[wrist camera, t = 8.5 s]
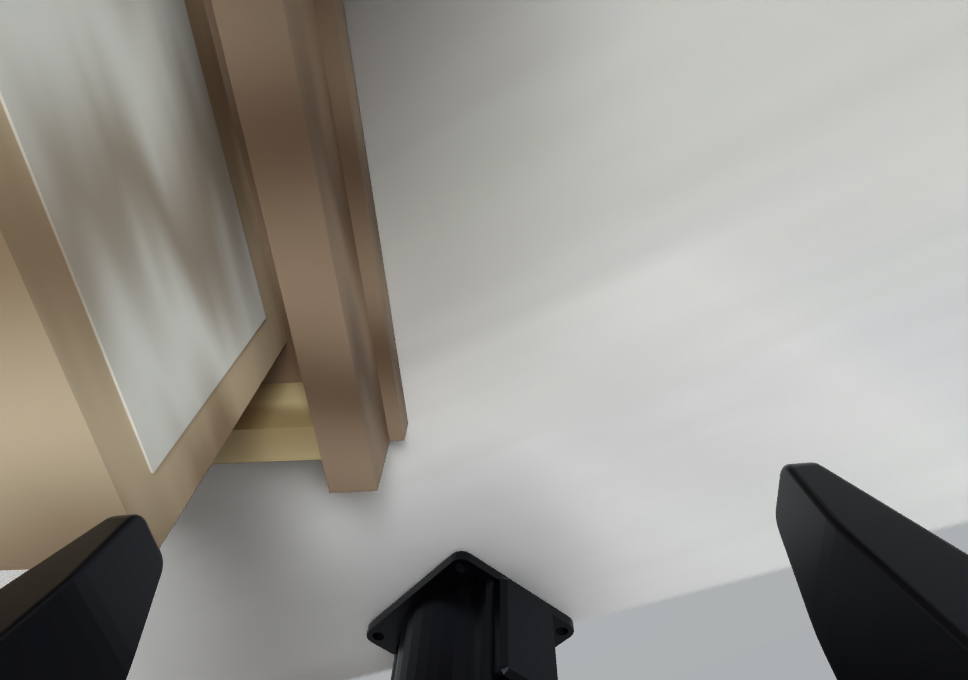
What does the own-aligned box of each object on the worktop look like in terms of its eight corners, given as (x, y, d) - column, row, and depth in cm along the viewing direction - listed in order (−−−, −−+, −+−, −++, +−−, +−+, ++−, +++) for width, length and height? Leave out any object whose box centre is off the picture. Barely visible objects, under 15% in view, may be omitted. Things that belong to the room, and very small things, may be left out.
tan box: (288, 340, 20) (151, 564, 12) (174, 347, 20) (-34, 571, 12) (174, -127, 15) (-218, -272, 7) (17, -111, 15) (-547, -236, 7)
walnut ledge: (407, 423, 23) (393, 489, 20) (134, 435, 23) (78, 502, 20) (286, -364, 13) (222, -471, 10) (-167, -314, 14) (-357, -401, 11)
